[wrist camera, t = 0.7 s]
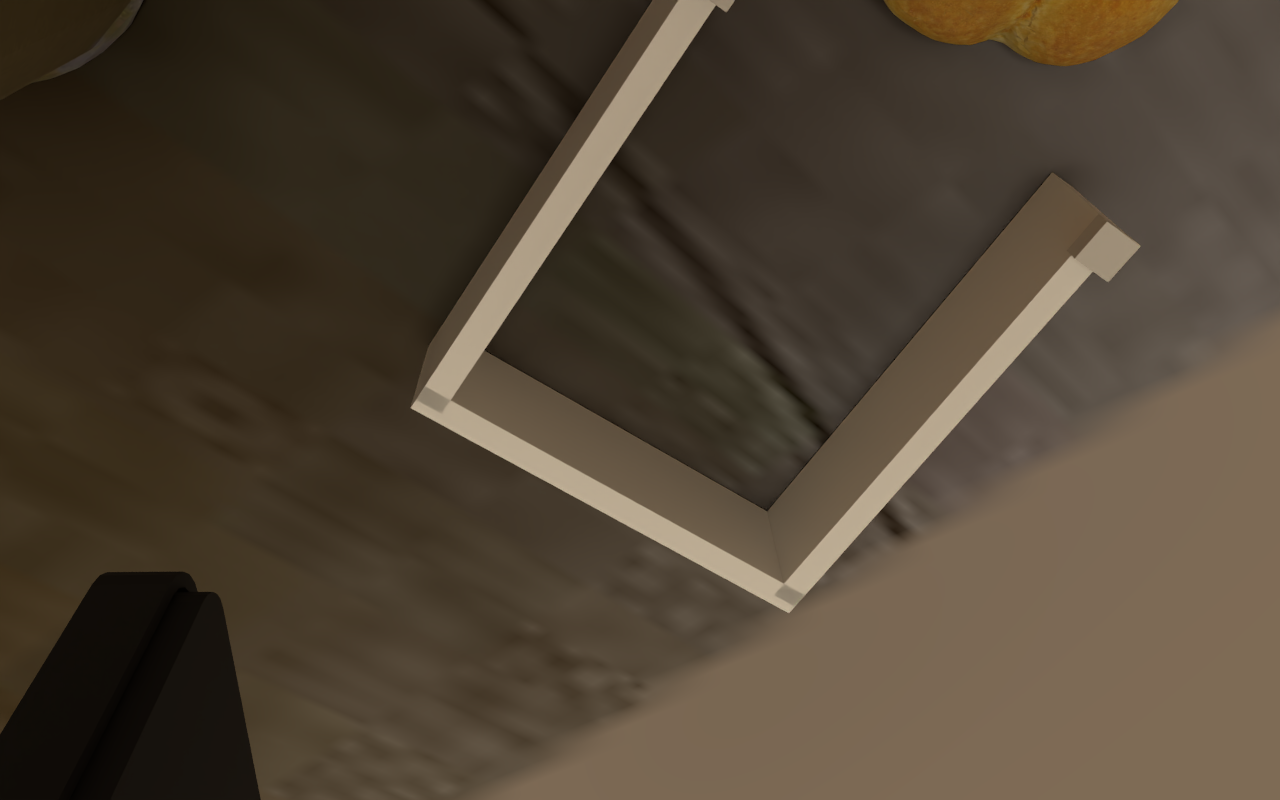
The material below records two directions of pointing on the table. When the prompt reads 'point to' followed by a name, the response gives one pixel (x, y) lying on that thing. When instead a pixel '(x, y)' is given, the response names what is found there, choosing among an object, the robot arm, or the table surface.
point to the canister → (56, 36)
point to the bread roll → (1036, 24)
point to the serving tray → (856, 451)
